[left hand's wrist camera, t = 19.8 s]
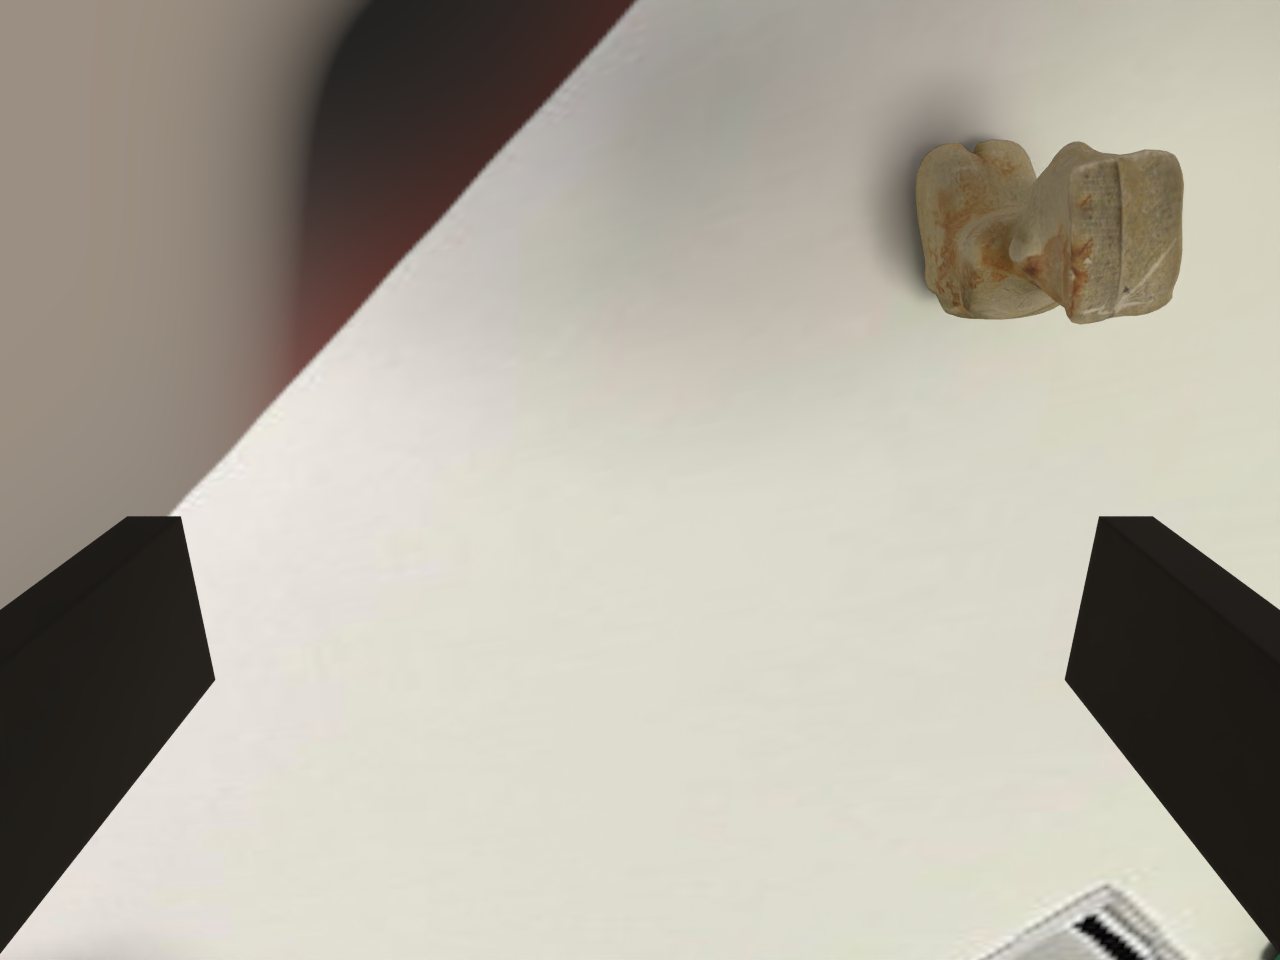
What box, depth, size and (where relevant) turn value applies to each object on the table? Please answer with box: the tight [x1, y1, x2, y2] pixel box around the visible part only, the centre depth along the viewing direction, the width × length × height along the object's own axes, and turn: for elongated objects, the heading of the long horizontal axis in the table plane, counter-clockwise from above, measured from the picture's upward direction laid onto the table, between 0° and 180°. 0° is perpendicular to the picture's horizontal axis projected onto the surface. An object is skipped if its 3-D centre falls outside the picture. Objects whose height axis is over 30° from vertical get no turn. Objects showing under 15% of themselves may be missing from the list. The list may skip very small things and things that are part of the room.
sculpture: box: [915, 140, 1184, 324], centre depth 33 cm, size 6×7×15 cm
